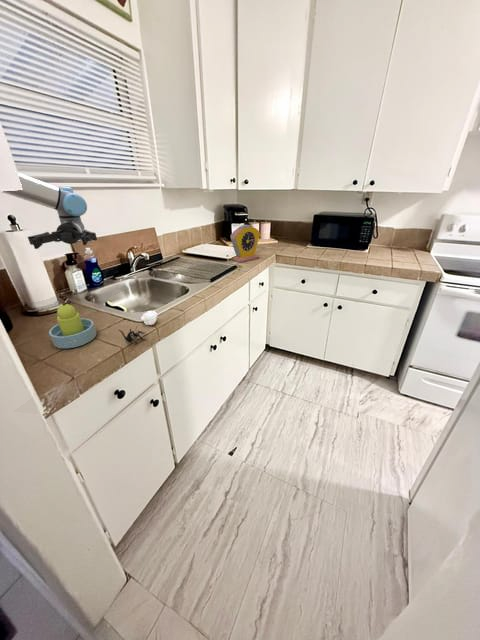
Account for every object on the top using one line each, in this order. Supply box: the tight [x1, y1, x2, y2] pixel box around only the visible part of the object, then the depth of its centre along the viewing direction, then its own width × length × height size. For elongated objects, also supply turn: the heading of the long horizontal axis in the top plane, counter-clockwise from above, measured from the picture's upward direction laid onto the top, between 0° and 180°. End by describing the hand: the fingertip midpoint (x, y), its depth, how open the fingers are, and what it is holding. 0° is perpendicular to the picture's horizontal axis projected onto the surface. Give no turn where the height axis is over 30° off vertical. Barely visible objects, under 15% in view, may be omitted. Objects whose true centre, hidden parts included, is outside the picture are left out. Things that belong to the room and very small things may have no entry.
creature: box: [118, 326, 146, 344], centre depth 83 cm, size 8×5×8 cm
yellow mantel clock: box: [229, 224, 261, 264], centre depth 167 cm, size 22×9×22 cm, turn 131°
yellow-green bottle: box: [56, 300, 85, 336], centre depth 81 cm, size 6×6×13 cm
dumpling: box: [140, 310, 158, 326], centre depth 94 cm, size 7×5×4 cm
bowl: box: [48, 317, 97, 349], centre depth 84 cm, size 12×12×4 cm
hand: (59, 242), depth 84 cm, fingers open, 13 cm apart
